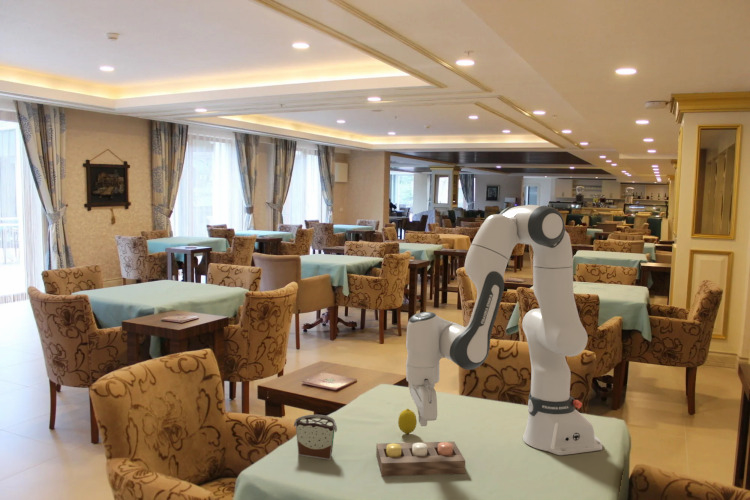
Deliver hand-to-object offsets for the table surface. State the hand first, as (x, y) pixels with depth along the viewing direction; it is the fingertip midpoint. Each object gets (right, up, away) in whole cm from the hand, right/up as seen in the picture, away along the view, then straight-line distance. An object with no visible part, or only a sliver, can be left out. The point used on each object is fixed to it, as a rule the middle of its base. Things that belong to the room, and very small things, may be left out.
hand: (422, 424), depth 158 cm
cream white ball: (-1, -10, +1) cm, 10 cm away
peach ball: (+6, -10, +2) cm, 11 cm away
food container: (-29, -10, +7) cm, 31 cm away
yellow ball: (-8, -9, 0) cm, 12 cm away
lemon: (-3, -10, +21) cm, 23 cm away
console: (-1, -11, +1) cm, 11 cm away
